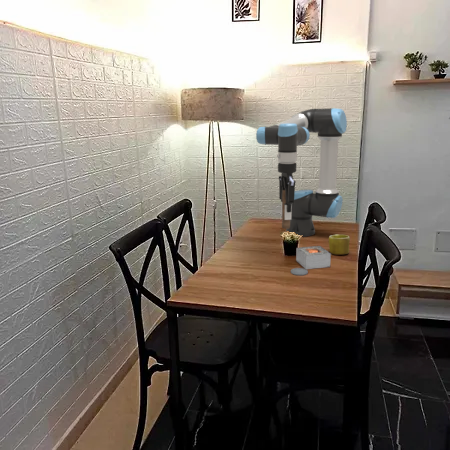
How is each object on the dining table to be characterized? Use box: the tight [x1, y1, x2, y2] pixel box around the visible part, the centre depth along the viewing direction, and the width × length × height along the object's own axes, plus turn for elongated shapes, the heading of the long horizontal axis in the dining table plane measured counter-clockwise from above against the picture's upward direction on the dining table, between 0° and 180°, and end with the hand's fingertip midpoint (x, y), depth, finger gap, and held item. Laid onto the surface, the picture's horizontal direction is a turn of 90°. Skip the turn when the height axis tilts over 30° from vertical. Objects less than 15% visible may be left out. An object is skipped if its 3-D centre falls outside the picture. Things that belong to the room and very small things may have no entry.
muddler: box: [281, 190, 290, 229], centre depth 183 cm, size 3×3×16 cm
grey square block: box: [295, 245, 332, 270], centre depth 189 cm, size 11×11×6 cm
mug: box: [328, 233, 351, 256], centre depth 203 cm, size 12×10×10 cm
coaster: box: [290, 267, 309, 277], centre depth 180 cm, size 7×7×1 cm
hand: (286, 218), depth 184 cm, fingers closed on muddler, 3 cm apart
